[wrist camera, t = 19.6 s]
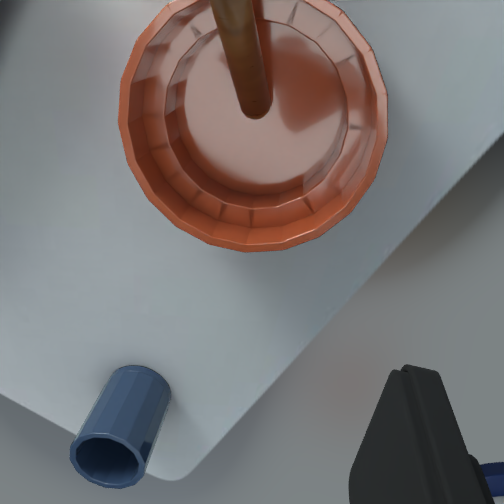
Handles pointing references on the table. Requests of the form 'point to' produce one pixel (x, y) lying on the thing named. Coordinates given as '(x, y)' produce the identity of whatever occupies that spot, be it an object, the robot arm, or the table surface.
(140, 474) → the holder
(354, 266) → the table surface
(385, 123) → the bowl
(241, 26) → the stick
